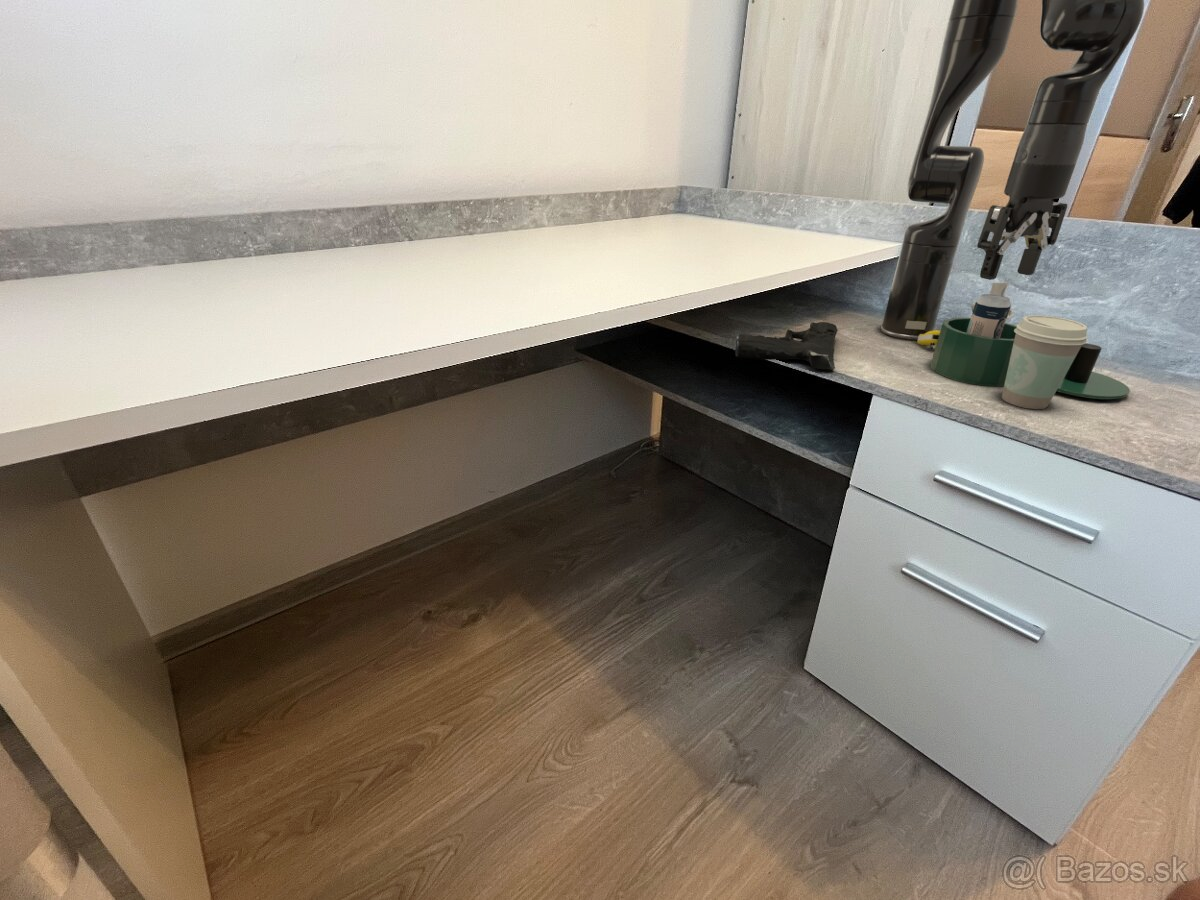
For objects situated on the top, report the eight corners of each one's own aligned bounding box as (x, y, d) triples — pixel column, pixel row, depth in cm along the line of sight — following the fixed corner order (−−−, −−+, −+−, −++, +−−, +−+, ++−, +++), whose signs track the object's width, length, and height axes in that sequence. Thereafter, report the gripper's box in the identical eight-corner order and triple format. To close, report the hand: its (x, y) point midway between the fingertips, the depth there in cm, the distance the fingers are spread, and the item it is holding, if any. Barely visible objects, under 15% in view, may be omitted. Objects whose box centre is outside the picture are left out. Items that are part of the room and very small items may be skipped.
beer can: (992, 375, 97) (1018, 301, 92) (960, 372, 98) (984, 299, 92) (982, 365, 101) (1006, 294, 96) (951, 363, 102) (973, 292, 97)
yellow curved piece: (922, 347, 108) (926, 327, 108) (915, 350, 114) (918, 331, 114) (984, 354, 105) (988, 334, 105) (973, 356, 111) (977, 337, 111)
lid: (1008, 368, 102) (1022, 330, 99) (1096, 374, 100) (1113, 336, 97) (1046, 398, 90) (1063, 356, 87) (1147, 406, 88) (1168, 364, 85)
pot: (920, 357, 106) (932, 315, 103) (997, 362, 105) (1012, 320, 101) (944, 382, 95) (958, 336, 92) (1030, 389, 94) (1048, 342, 90)
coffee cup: (987, 387, 94) (1013, 311, 88) (1051, 396, 91) (1082, 318, 86) (996, 407, 87) (1025, 326, 81) (1065, 417, 84) (1100, 334, 79)
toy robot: (989, 353, 109) (1011, 286, 104) (955, 340, 116) (975, 277, 110) (1005, 351, 110) (1029, 285, 105) (971, 339, 117) (992, 276, 111)
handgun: (746, 327, 120) (748, 310, 118) (834, 337, 115) (838, 319, 114) (729, 361, 103) (732, 342, 101) (832, 375, 98) (836, 354, 96)
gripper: (1037, 163, 79) (997, 286, 87) (1104, 161, 84) (1060, 277, 92) (985, 159, 85) (952, 275, 93) (1051, 158, 90) (1014, 267, 98)
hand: (1006, 276), depth 93 cm, fingers open, 8 cm apart
